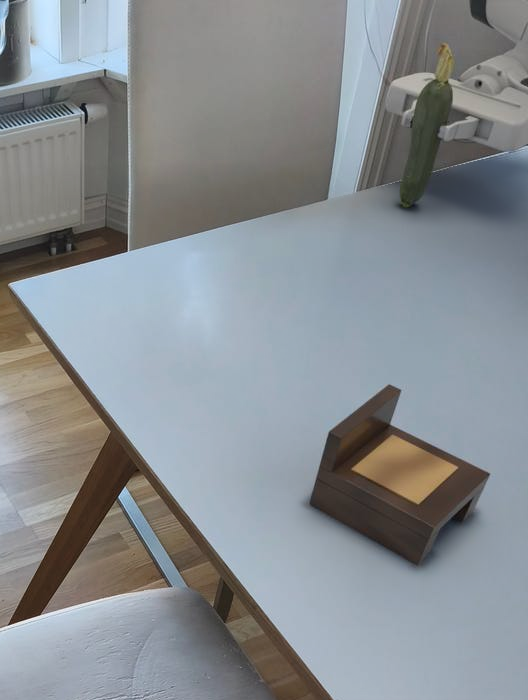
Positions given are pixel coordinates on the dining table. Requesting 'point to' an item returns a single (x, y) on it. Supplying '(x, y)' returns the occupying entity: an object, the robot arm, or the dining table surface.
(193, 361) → the dining table surface
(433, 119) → the vegetable
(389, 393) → the wooden toy chair
